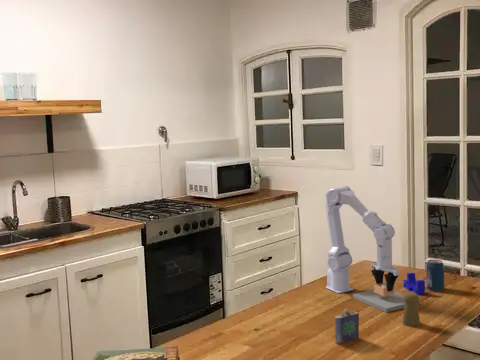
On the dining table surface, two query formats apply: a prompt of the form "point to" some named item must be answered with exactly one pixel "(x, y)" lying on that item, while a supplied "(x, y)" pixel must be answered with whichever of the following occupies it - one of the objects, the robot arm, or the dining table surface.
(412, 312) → the cork
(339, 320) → the flask
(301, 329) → the dining table surface
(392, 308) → the post board
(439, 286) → the soda can
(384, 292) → the collar
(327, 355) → the dining table surface
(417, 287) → the cable clip
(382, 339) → the dining table surface
